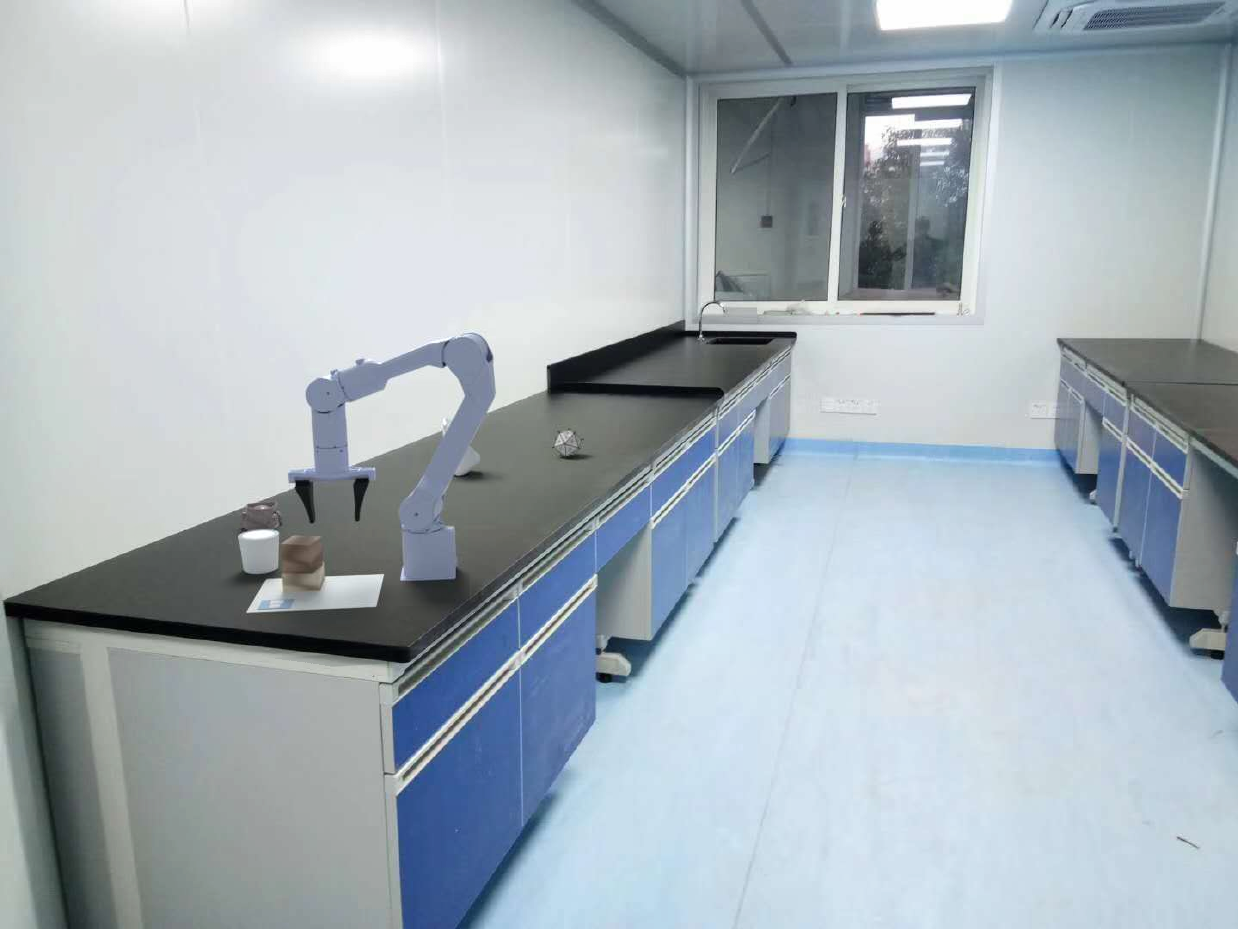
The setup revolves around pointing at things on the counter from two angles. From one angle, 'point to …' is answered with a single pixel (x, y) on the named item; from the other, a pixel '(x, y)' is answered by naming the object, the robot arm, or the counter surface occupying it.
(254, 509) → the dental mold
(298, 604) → the plate
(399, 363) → the robot arm
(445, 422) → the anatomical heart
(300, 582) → the maple base block
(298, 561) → the walnut block
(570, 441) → the game die
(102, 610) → the counter surface
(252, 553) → the white tapered cup
